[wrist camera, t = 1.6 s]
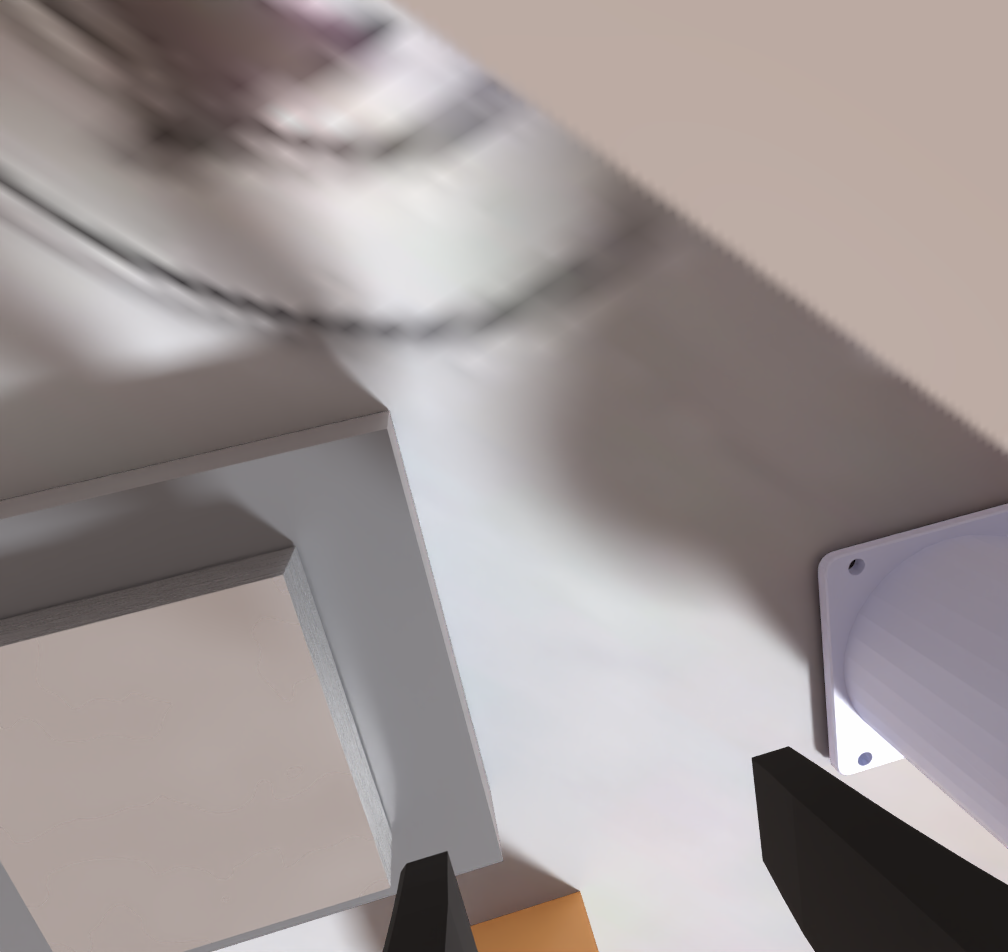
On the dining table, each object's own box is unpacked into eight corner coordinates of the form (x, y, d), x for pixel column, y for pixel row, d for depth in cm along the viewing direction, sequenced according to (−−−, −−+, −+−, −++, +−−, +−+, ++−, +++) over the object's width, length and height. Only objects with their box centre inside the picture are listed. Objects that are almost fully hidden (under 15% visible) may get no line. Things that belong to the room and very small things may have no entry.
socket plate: (389, 410, 15) (386, 428, 13) (490, 790, 19) (503, 861, 16) (-125, 529, 14) (-232, 573, 12) (83, 912, 17) (33, 1006, 15)
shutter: (295, 546, 13) (283, 574, 12) (391, 834, 15) (390, 887, 14) (-49, 632, 12) (-108, 674, 11) (104, 919, 15) (72, 985, 13)
